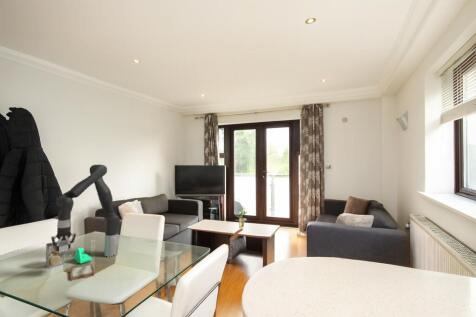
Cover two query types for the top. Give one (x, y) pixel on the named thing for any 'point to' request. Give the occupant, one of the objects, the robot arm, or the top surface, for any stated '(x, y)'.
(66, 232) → the robot arm
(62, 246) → the housing
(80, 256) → the camera mount
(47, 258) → the coffee box
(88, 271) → the walnut stand
